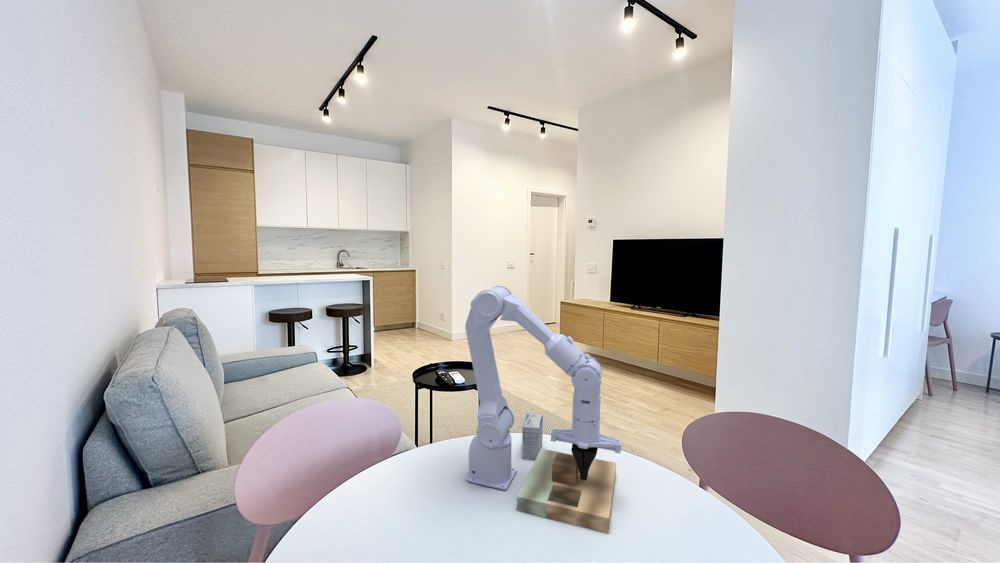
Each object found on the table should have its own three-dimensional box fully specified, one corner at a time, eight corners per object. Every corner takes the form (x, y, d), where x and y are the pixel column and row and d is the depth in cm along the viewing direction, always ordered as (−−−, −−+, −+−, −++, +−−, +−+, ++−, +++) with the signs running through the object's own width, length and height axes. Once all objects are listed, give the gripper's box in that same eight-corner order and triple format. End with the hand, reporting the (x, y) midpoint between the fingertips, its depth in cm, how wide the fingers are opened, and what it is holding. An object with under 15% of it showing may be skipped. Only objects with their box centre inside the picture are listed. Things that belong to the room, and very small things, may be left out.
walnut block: (551, 481, 84) (552, 463, 84) (556, 468, 89) (557, 452, 88) (575, 486, 82) (575, 468, 82) (578, 473, 87) (579, 456, 87)
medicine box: (539, 461, 97) (540, 427, 97) (521, 459, 98) (522, 426, 97) (542, 445, 105) (543, 414, 104) (526, 443, 106) (526, 412, 105)
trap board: (516, 510, 79) (516, 496, 79) (540, 459, 98) (541, 448, 98) (608, 533, 73) (609, 518, 73) (615, 474, 92) (616, 462, 91)
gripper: (548, 418, 81) (546, 480, 83) (620, 430, 77) (618, 496, 78) (555, 405, 88) (553, 463, 89) (622, 416, 83) (620, 476, 84)
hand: (584, 477), depth 84 cm, fingers closed
